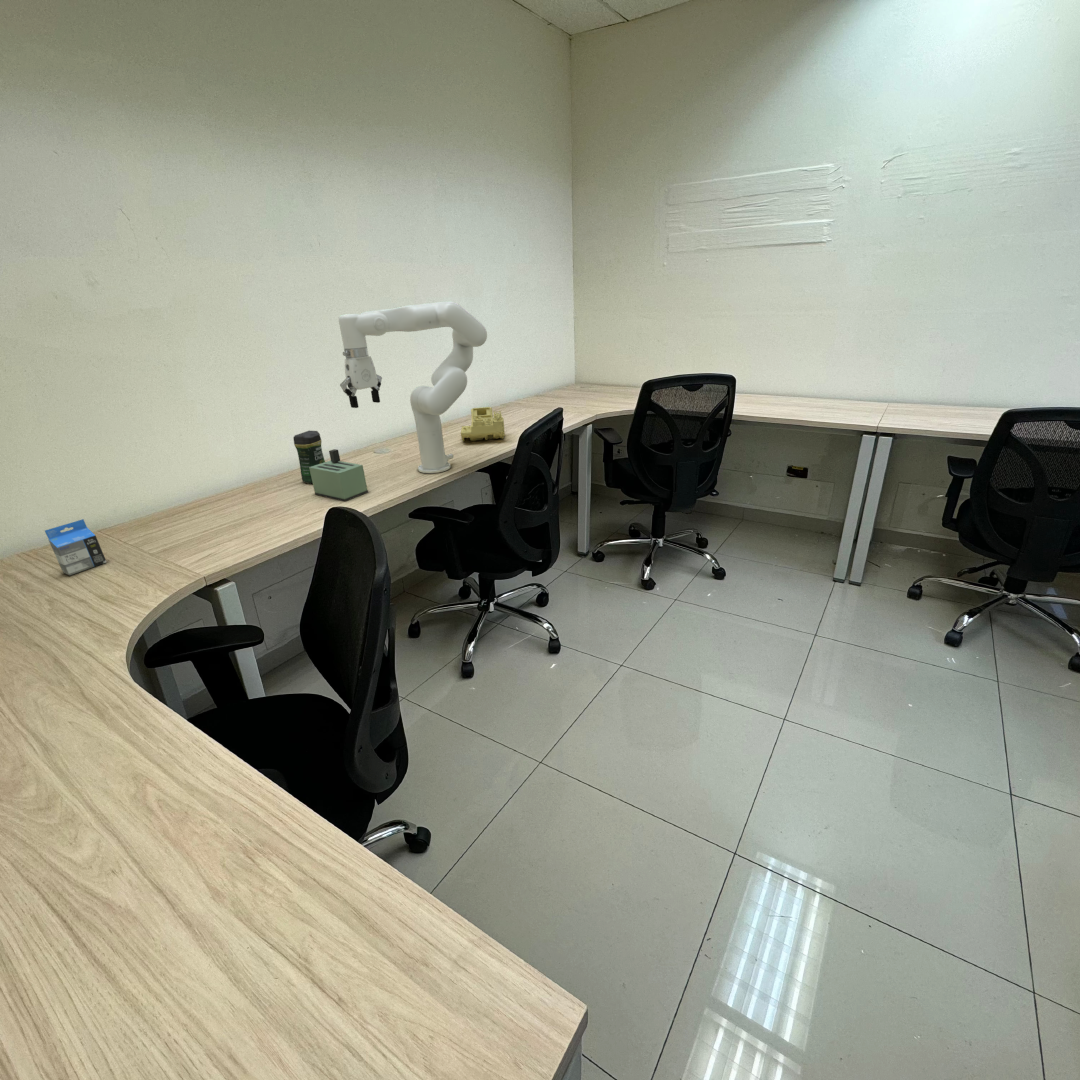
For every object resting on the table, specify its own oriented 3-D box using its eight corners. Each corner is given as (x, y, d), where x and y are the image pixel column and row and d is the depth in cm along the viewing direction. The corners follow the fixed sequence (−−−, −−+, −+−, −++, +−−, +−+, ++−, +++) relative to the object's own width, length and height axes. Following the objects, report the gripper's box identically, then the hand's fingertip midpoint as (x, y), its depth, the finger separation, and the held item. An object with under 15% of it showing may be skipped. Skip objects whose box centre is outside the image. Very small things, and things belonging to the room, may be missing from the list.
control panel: (456, 405, 259) (498, 398, 261) (463, 436, 268) (503, 428, 269) (458, 424, 240) (503, 416, 241) (465, 456, 249) (508, 448, 250)
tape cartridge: (69, 576, 144) (49, 533, 139) (63, 573, 146) (43, 530, 141) (107, 562, 151) (89, 521, 146) (101, 559, 153) (83, 518, 148)
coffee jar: (316, 484, 205) (305, 435, 197) (299, 483, 207) (287, 434, 200) (333, 476, 213) (323, 429, 205) (316, 475, 216) (305, 428, 208)
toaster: (338, 485, 202) (332, 459, 198) (368, 492, 194) (362, 464, 190) (315, 494, 195) (308, 467, 191) (345, 501, 187) (339, 472, 182)
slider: (336, 460, 196) (334, 449, 194) (340, 460, 195) (338, 449, 193) (331, 461, 194) (328, 450, 192) (334, 462, 193) (332, 451, 191)
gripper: (343, 357, 177) (353, 410, 184) (383, 350, 190) (391, 401, 197) (328, 356, 181) (338, 409, 188) (369, 350, 194) (377, 399, 201)
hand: (365, 404), depth 192 cm, fingers open, 9 cm apart
